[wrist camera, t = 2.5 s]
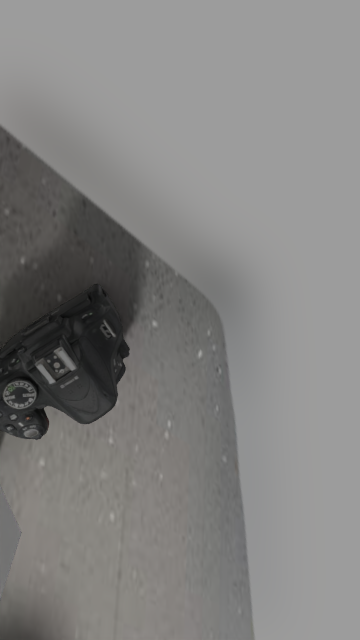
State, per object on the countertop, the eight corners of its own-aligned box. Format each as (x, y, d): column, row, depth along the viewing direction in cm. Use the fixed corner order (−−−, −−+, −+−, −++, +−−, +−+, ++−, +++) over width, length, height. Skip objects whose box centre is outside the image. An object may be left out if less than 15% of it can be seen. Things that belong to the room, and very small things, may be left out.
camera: (73, 425, 32) (61, 495, 23) (-23, 376, 29) (-84, 433, 20) (149, 316, 32) (169, 341, 22) (60, 256, 29) (39, 256, 19)
